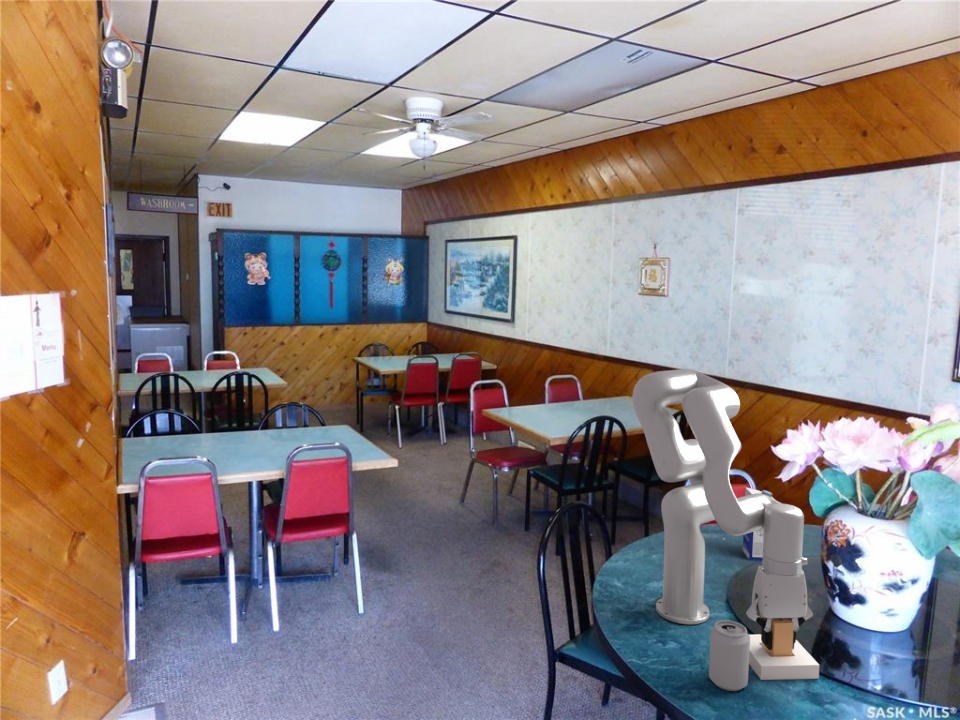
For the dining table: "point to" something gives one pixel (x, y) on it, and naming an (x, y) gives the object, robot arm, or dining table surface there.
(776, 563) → the robot arm
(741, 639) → the can
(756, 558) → the milk carton
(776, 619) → the charger
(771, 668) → the outlet plate
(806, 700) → the dining table surface
